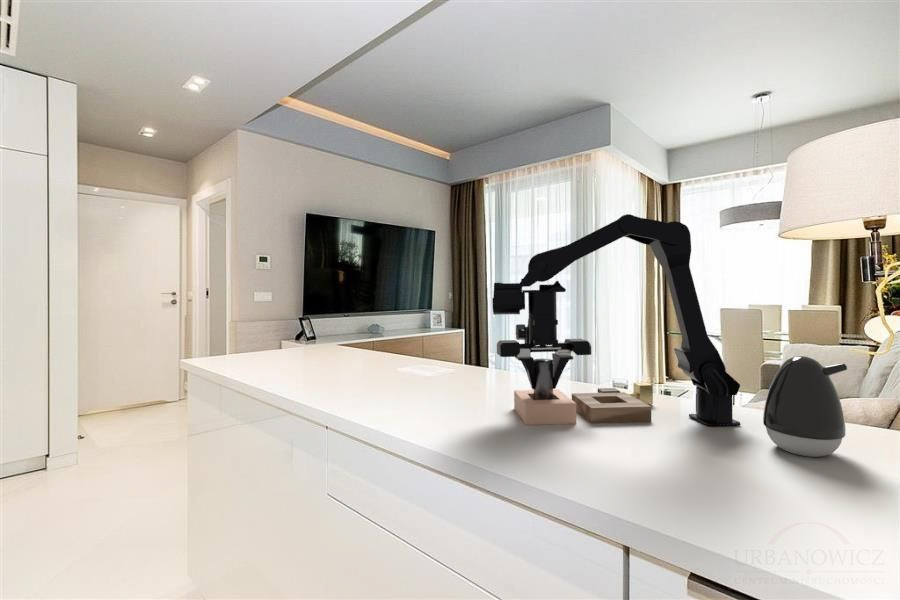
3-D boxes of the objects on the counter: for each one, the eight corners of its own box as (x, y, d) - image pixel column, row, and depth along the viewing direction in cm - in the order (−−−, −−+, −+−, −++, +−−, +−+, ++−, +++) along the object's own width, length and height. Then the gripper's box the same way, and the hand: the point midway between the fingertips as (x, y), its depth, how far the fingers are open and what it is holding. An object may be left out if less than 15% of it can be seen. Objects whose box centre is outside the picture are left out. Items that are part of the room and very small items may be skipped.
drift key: (652, 404, 97) (652, 385, 97) (604, 405, 97) (604, 386, 97) (646, 400, 100) (646, 382, 100) (599, 401, 100) (599, 383, 100)
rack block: (576, 423, 85) (576, 403, 85) (525, 424, 84) (525, 404, 84) (558, 407, 97) (558, 389, 97) (514, 408, 96) (514, 390, 96)
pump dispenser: (855, 469, 62) (856, 363, 62) (765, 455, 67) (766, 358, 67) (838, 446, 71) (839, 354, 70) (760, 436, 76) (760, 350, 76)
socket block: (651, 421, 85) (651, 404, 85) (591, 423, 85) (591, 406, 85) (619, 402, 100) (618, 388, 100) (567, 403, 100) (567, 389, 100)
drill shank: (555, 410, 89) (555, 361, 88) (536, 410, 88) (535, 361, 88) (550, 404, 93) (549, 358, 92) (532, 405, 92) (531, 358, 92)
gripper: (573, 311, 99) (574, 379, 99) (492, 313, 98) (493, 381, 98) (591, 314, 87) (592, 390, 88) (500, 316, 87) (501, 393, 87)
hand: (543, 388), depth 90 cm, fingers closed on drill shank, 4 cm apart
